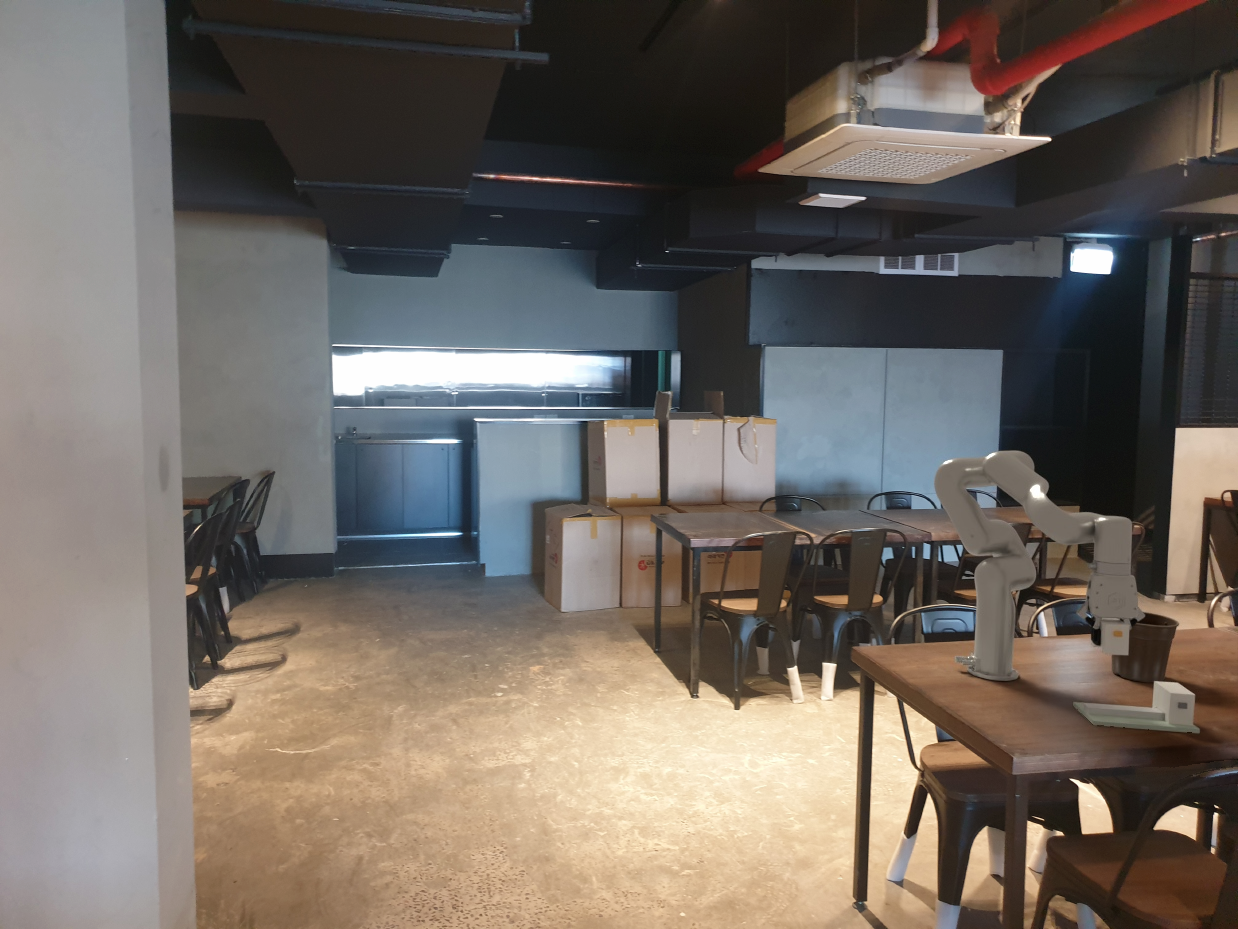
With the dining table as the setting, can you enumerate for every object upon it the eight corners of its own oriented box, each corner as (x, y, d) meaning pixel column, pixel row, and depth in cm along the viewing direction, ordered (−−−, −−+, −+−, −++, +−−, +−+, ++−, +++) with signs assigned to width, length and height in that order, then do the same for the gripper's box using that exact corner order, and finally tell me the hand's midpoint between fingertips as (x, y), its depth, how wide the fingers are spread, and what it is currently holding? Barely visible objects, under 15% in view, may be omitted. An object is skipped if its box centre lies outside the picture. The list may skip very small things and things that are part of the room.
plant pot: (1168, 671, 227) (1173, 614, 226) (1180, 690, 212) (1184, 628, 211) (1100, 662, 234) (1104, 606, 232) (1107, 680, 219) (1111, 620, 218)
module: (1106, 655, 192) (1107, 624, 191) (1090, 645, 200) (1091, 616, 200) (1129, 656, 191) (1130, 625, 191) (1113, 646, 200) (1114, 616, 199)
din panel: (1092, 725, 188) (1095, 690, 187) (1073, 706, 200) (1075, 673, 199) (1199, 733, 184) (1202, 698, 184) (1173, 713, 196) (1175, 680, 196)
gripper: (1079, 570, 193) (1077, 647, 193) (1159, 572, 190) (1156, 650, 191) (1067, 565, 200) (1064, 639, 201) (1143, 567, 197) (1140, 642, 198)
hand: (1109, 644), depth 196 cm, fingers closed on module, 5 cm apart
